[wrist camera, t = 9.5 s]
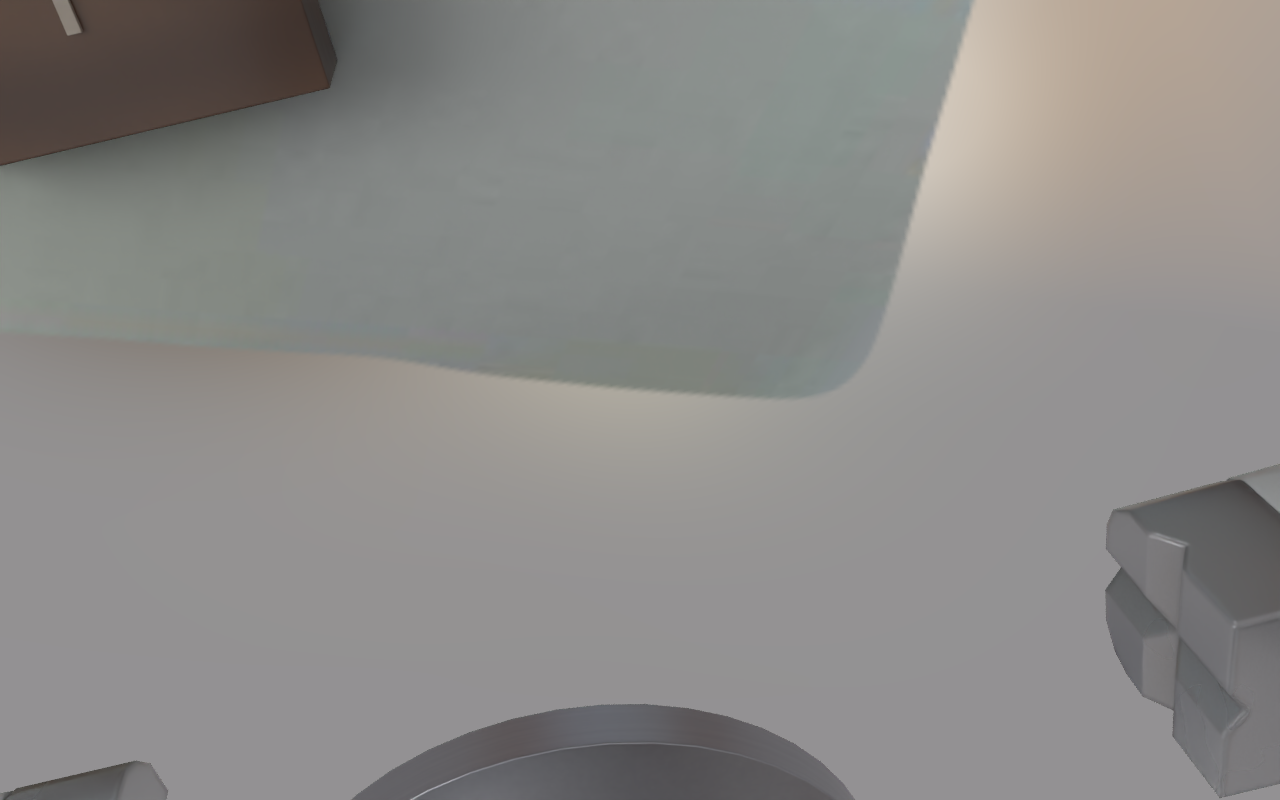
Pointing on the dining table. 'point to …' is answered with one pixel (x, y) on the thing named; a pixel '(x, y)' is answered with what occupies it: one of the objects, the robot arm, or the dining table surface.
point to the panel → (148, 65)
